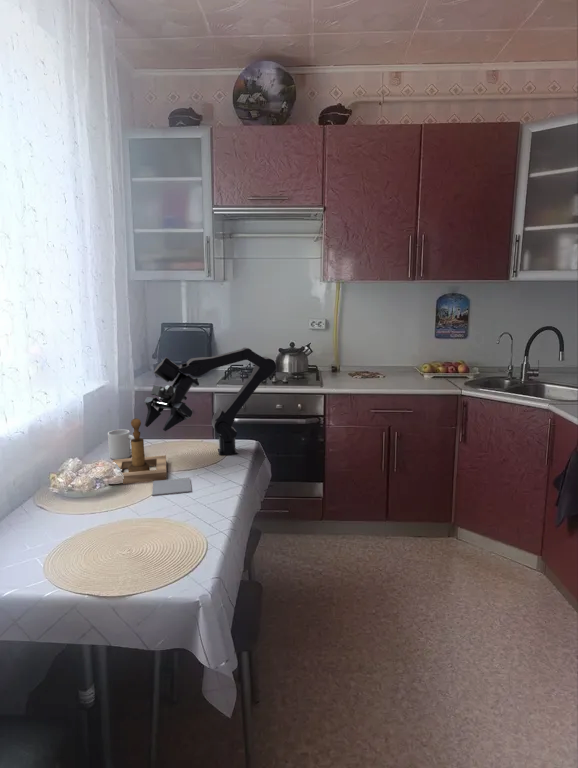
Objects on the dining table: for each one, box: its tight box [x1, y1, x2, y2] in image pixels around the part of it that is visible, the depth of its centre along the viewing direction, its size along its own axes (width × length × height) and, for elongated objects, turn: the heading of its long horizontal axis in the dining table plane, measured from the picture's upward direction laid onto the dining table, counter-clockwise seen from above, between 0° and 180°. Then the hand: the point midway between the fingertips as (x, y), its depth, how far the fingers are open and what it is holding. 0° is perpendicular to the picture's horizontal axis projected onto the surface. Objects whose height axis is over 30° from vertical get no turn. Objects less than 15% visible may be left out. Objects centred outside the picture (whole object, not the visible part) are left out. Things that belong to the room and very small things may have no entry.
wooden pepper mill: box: [127, 417, 151, 472], centre depth 165 cm, size 7×6×18 cm
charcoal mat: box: [151, 477, 192, 497], centre depth 155 cm, size 11×11×1 cm
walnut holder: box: [112, 454, 168, 485], centre depth 167 cm, size 17×17×2 cm
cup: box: [107, 429, 134, 460], centre depth 183 cm, size 7×10×9 cm
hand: (154, 428), depth 170 cm, fingers open, 9 cm apart
